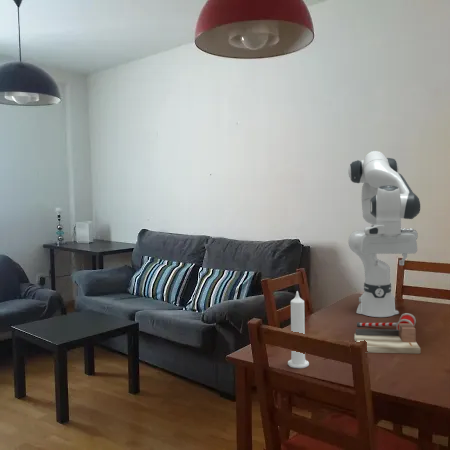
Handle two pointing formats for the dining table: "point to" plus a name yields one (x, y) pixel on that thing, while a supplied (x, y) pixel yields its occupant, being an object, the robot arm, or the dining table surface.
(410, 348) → the board
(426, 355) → the dining table surface
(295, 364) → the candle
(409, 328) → the brown cardboard brick
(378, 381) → the dining table surface
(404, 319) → the toy hammer
